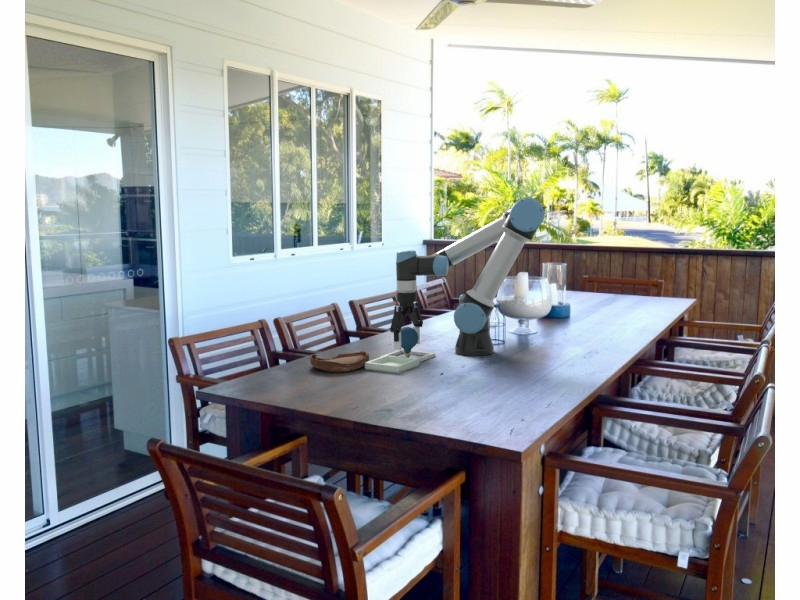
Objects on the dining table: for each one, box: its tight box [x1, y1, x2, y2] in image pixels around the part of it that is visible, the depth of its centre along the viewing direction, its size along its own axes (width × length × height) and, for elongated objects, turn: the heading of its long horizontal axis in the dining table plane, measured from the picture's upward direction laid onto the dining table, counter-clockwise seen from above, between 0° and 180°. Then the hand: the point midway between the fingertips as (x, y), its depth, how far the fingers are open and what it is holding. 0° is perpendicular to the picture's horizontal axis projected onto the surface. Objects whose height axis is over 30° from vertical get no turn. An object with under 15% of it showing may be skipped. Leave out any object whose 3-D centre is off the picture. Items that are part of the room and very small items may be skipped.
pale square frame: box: [378, 348, 436, 363], centre depth 266 cm, size 16×16×1 cm
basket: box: [309, 350, 370, 373], centre depth 253 cm, size 22×20×5 cm
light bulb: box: [400, 326, 418, 358], centre depth 265 cm, size 8×8×12 cm
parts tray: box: [364, 354, 420, 375], centre depth 250 cm, size 14×14×2 cm
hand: (407, 346), depth 265 cm, fingers open, 13 cm apart
